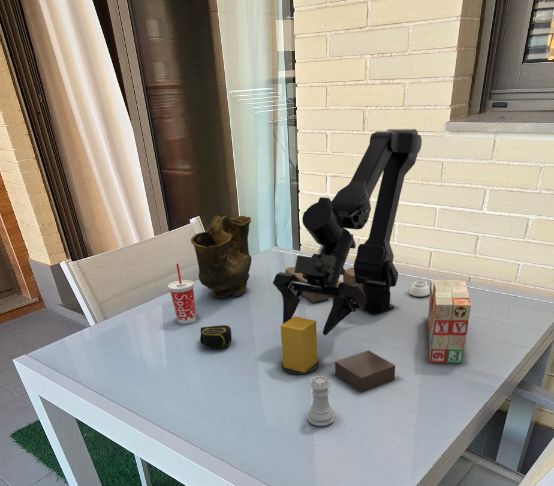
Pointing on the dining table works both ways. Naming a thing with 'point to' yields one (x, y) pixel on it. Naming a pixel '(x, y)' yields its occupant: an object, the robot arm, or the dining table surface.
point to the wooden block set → (347, 278)
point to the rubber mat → (299, 371)
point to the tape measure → (215, 336)
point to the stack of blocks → (448, 320)
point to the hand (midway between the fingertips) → (303, 330)
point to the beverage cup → (183, 299)
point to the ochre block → (299, 343)
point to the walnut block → (364, 370)
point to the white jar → (420, 289)
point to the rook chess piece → (320, 403)
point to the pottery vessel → (224, 255)
